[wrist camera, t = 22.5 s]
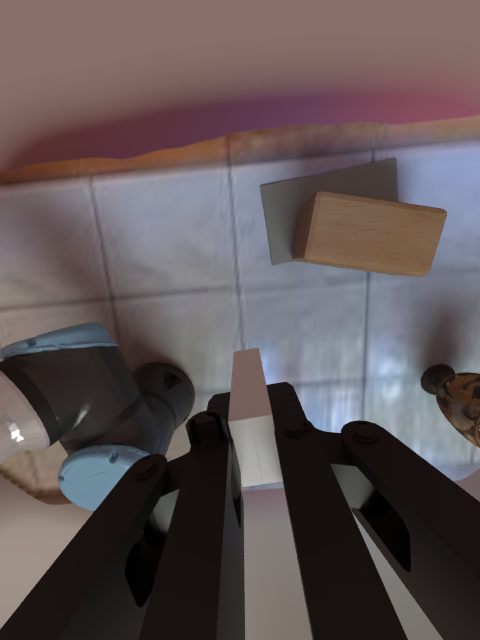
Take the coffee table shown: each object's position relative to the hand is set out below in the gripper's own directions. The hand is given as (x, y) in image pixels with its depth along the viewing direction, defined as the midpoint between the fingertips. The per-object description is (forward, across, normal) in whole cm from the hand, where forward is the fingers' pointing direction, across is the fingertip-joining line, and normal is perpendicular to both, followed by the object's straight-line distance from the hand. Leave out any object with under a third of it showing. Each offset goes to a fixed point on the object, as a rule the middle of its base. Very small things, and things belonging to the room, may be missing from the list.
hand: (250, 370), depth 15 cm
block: (+29, +11, +10) cm, 33 cm away
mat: (+34, +18, +12) cm, 41 cm away
